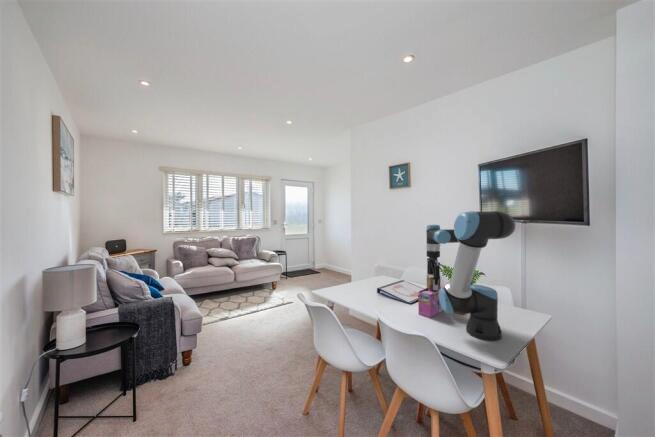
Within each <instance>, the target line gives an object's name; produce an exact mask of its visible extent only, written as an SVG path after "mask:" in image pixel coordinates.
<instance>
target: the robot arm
mask: <svg viewBox="0 0 655 437" xmlns="http://www.w3.org/2000/svg"><path fill="white" fill-rule="evenodd" d="M515 222H516V221H515V220H514V218H513V217H512V215H510V214H508V213H506V212H504V211H497V210H494V211H473V210H471V211H466V212H465V211H464V212H461V213H459V214H458V215H457V216H456V218H455V220H454V223H453V229H452V228H449V229H446V228H445V229H441V226H440V225H439V224H427V226H426V230H425V232H426V246H425V247H426V257H427V258H426V259H427V260H426V262H427V263H426V267H427V268H426V273H427V274H433V276H434V278H432V279H433V290H438V279H440V277H441V270H440V267H441V266H440V265H441V262H439V261H438V258H440V257H441V244H442V245H445V244H451V243H452V244H455V243H459V245H458V248H457V253H456V257H455V261H454V265H453V269H452V272H451V277H450V281H447V282H446V284H445V286H444V287H445V289H443V288H442V289H440V290H439V301H440V304H441V307H442V309H443V311H444V312H445V313H446V314H469V318H468V320H467V323H466V328H465V329H466V333H467V334H468V335H469V336H471V337H474V338H476V339H479V340H484V341H498V340H501V339H502V337H503V332H502V329H501V327H500V323H499V320H498V314H499V313H498V311H499V309H498V305H499V304H498V303H499V298H498V292H497V290H496V289H494V288H492V287H489V286H485V285H482V284H472V281H473V277H474V276H475V275H474V274H475V271H476V267H477V264H478V262H479V257H480V254H481V252H482V249H483V248H485V247H487V245H488V242H489V240H500V239H501V240H502V239H506V238H508V237H510V236H511V235H513V233H514V232H515V230H516V223H515ZM427 274H426V275H427Z"/></svg>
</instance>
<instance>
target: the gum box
mask: <svg viewBox="0 0 655 437" xmlns="http://www.w3.org/2000/svg"><path fill="white" fill-rule="evenodd" d="M442 288H443V289H445V286H443V285H440V289H442ZM443 311H444V310H443V309H442V307H441V304H440V301H439V290H430V289H428V288H427V287H425V288H424V289H422V290H420V291H418V315H419V316H423V317H427V318H430V319H431V318H434V316H436V315H437V314H439V313H441V312H443Z"/></svg>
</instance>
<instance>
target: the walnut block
mask: <svg viewBox="0 0 655 437" xmlns="http://www.w3.org/2000/svg"><path fill="white" fill-rule="evenodd" d="M432 278H434V276H433V274H426V288H428V289H430V290H433V279H432ZM441 284H442V282H441V276H440V279H438V290H440V286H442V285H441Z"/></svg>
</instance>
